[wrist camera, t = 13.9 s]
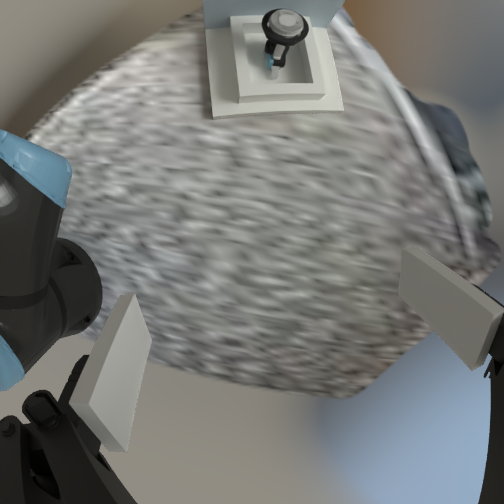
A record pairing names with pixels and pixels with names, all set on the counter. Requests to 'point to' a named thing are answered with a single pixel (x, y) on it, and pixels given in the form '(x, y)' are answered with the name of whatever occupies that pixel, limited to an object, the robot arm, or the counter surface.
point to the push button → (281, 36)
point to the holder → (255, 66)
